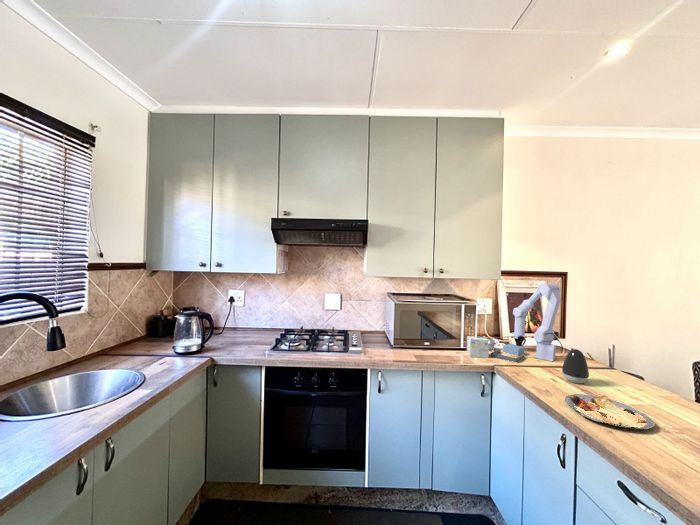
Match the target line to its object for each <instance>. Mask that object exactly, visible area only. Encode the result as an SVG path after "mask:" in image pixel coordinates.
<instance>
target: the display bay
mask: <svg viewBox="0 0 700 525" xmlns="http://www.w3.org/2000/svg"><path fill="white" fill-rule="evenodd" d="M500 353H501V348H500V349H499V348H497V349H496V350H493V351H492V352H491V353H490V357H491V358H495V359H499V358H500V359H499V360H503V359H504V361H508V360H509V361H508V362H512V361H513V362H512V363H516V362H517V364H518V363H520V362H521V361H522V360H523V358H524V359H525V353H524V354H521V355H520V356H516V357H512V356H507V355H503V354H500ZM519 361H520V362H519Z"/></svg>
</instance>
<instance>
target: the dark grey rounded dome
mask: <svg viewBox="0 0 700 525" xmlns="http://www.w3.org/2000/svg"><path fill="white" fill-rule="evenodd" d="M561 372H562V375H563V377H564V379H565V380H567V381H568V382H569V383H570V382H571V383H573V384H577V383H581V384H584V383H586V382H587V381H588V378H589V377H590V370H589V366H588V363H587V359H586V356H585V355H584V353H583V352H582V351H581V350H580V349H578V348H577V349H576V348H574V347H573V348H571V349H570V350H569V351H568V352H567V354H566V356H565V358H564V361H563V364H562V368H561Z"/></svg>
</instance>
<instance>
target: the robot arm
mask: <svg viewBox="0 0 700 525" xmlns="http://www.w3.org/2000/svg"><path fill="white" fill-rule="evenodd" d="M561 290H562V289H561V287H560V286H559V285H558V284H557V283H556V282H555V283H554V282H553V283H551V282H550V283H549V282H548V283H546V282H541V283H540V284H538V286H537V287H536V290H535V291H534V292H533V293H532V295H531V296H530V297H529V298H528V299H524V300H523V301H522V303H520V304H519V305H518V307H514V308H513V311H512V315H513V316H514V328H513V330H514V332H512V333H511V334H512V335H513V340H514V342H515V345H517V346H521V347H523V342H524V340H525V338H526V337H525V336H526V334H525V333H526V332H525V330H526V328H525V327H526V319H527V316H528V312H530V310H531V309H532V308H534V307H535V304H534V303H536V302H537V301H538V300H539V299H540V298H541V297H542V296H543V297H544V298H545V299H547V304H546V307H545V310H544V314H543V318H542V322H541V325H540V326H539V327H538V328H537V329H536V331H535V332H534V334H533V339H534V341H535V343H536V346H535V348H536V349H535V350H536V351H535V355H534V356H533V358H534V359H540V360H544V361H548V362H549V361H550V362H554V361H555V360H556V359H557V358H556V350H557V348H556V347H557V346H556V344H553V341H555V330H554V329H553V327H554V324H555V321H556V320H555V319H556V317H557V313H558V310H559V307H560V303H561V294H560V292H561Z"/></svg>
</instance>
